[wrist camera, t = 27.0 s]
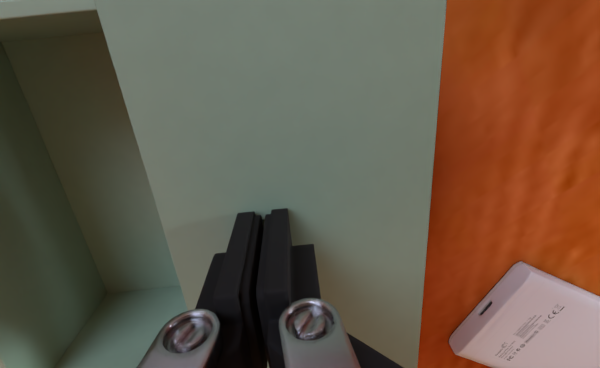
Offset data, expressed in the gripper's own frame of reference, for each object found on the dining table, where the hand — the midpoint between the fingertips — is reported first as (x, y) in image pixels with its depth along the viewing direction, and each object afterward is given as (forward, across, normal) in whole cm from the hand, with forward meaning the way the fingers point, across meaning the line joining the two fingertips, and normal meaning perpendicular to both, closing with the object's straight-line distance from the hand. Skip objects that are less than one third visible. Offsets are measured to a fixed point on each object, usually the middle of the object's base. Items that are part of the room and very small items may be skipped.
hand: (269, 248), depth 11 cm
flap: (0, -1, 0) cm, 1 cm away
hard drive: (+8, -18, +15) cm, 25 cm away
